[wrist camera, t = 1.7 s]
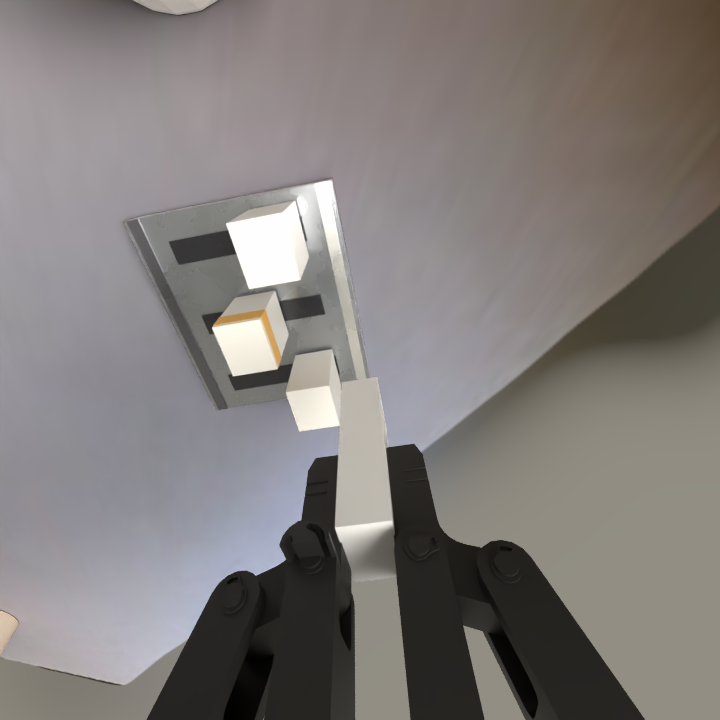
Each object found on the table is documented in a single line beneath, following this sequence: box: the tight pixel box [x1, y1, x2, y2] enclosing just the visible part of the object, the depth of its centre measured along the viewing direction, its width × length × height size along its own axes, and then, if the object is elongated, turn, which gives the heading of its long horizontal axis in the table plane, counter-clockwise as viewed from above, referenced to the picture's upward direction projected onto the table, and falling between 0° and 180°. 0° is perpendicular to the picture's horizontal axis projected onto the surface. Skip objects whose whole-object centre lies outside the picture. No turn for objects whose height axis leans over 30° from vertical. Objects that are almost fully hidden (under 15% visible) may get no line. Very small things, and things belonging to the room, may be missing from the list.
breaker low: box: [286, 349, 341, 432], centre depth 27 cm, size 3×4×5 cm
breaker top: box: [226, 201, 309, 289], centre depth 21 cm, size 3×4×5 cm
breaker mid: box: [212, 291, 289, 376], centre depth 24 cm, size 3×4×5 cm
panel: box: [123, 178, 370, 410], centre depth 27 cm, size 14×16×2 cm
